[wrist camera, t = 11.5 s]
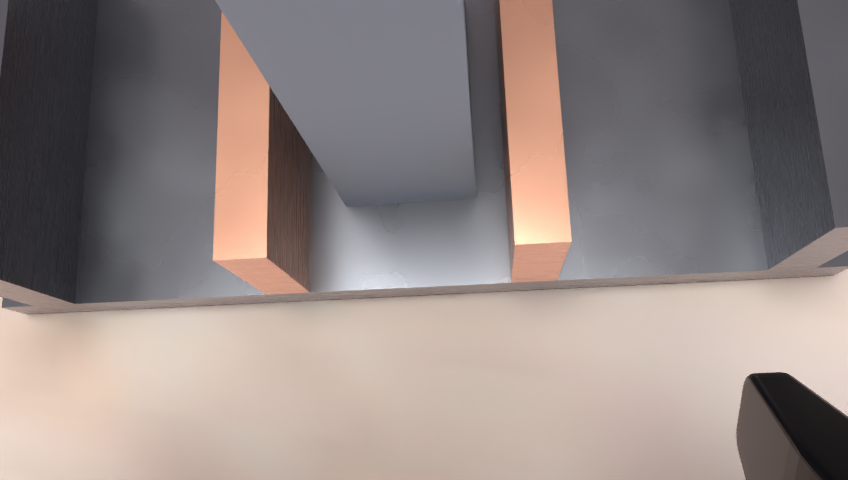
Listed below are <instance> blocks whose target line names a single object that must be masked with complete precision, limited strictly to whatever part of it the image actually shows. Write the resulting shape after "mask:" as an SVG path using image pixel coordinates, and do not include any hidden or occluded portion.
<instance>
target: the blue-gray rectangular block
mask: <svg viewBox="0 0 848 480" xmlns="http://www.w3.org/2000/svg"><path fill="white" fill-rule="evenodd" d="M215 1H216V3H217V4H218V6H219V7H220V9H221V10H222V12H223V14H224V15H225V17H226V18H227V20H228V21H229V23H230V25H231V26H232V28H233V29H234V31H235V32H236V34H237V36H238V37H239V39H240V40H241V42H242V43H243V45H244V47H245V48H246V50H247V51H248V53H249V54H250V56H251V58H252V59H253V61H254V62H255V64H256V65H257V67H258V69H259V70H260V72H261V73H262V75H263V76H264V78H265V80H266V81H267V83H268V84H269V86H270V87H271V89H272V91H273V92H274V94H275V95H276V97H277V98H278V100H279V102H280V103H281V105H282V106H283V108H284V109H285V111H286V113H287V114H288V116H289V117H290V119H291V120H292V122H293V124H294V125H295V127H296V128H297V130H298V131H299V133H300V135H301V136H302V138H303V139H304V141H305V142H306V144H307V146H308V147H309V149H310V150H311V152H312V154H313V155H314V157H315V158H316V160H317V161H318V163H319V165H320V166H321V168H322V169H323V171H324V172H325V174H326V176H327V177H328V179H329V180H330V182H331V183H332V185H333V187H334V188H335V190H336V191H337V193H338V194H339V196H340V198H341V199H342V201H343V202H344V204H345V205H346V207H347V206H362V205H378V204H393V203H408V202H423V201H438V200H454V199H469V198H477V195H476V179H475V162H474V146H473V129H472V113H471V97H470V80H469V64H468V48H467V31H466V15H465V0H215Z"/></svg>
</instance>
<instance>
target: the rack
mask: <svg viewBox="0 0 848 480" xmlns="http://www.w3.org/2000/svg"><path fill="white" fill-rule="evenodd" d="M465 15H466V31H467V48H468V64H469V80H470V97H471V113H472V129H473V146H474V162H475V179H476V195H477V198H469V199H454V200H438V201H423V202H408V203H393V204H378V205H362V206H347V207H346V205H345V204H344V202H343V201H342V199H341V198H340V196H339V194H338V193H337V191H336V190H335V188H334V187H333V185H332V183H331V182H330V180H329V179H328V177H327V176H326V174H325V172H324V171H323V169H322V168H321V166H320V165H319V163H318V161H317V160H316V158H315V157H314V155H313V154H312V152H311V150H310V149H309V147H308V146H307V144H306V142H305V141H304V139H303V138H302V136H301V135H300V133H299V131H298V130H297V128H296V127H295V125H294V124H293V122H292V120H291V119H290V117H289V116H288V114H287V113H286V111H285V109H284V108H283V106H282V105H281V103H280V102H279V100H278V98H277V97H276V95H275V94H274V92H273V91H272V89H271V87H270V86H269V84H268V83H267V81H266V80H265V78H264V76H263V75H262V73H261V72H260V70H259V69H258V67H257V65H256V64H255V62H254V61H253V59H252V58H251V56H250V54H249V53H248V51H247V50H246V48H245V47H244V45H243V43H242V42H241V40H240V39H239V37H238V36H237V34H236V32H235V31H234V29H233V28H232V26H231V25H230V23H229V21H228V20H227V18H226V17H225V15H224V14H223V12H222V10H221V9H220V7H219V6H218V4H217V3H216V1H215V0H0V297H3V302H2V308H5V309H9V310H13V311H17V312H20V313H24V314H42V313H62V312H83V311H104V310H125V309H146V308H167V307H187V306H208V305H229V304H250V303H271V302H292V301H313V300H333V299H354V298H375V297H396V296H417V295H438V294H458V293H479V292H500V291H521V290H542V289H563V288H583V287H604V286H625V285H646V284H667V283H688V282H709V281H729V280H750V279H771V278H792V277H813V276H833V275H835V274H837V273H839V272H841V271H843V270H845V269H847V268H848V0H465Z"/></svg>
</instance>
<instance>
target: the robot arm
mask: <svg viewBox="0 0 848 480" xmlns="http://www.w3.org/2000/svg"><path fill="white" fill-rule="evenodd" d="M737 446H738V451H739V455H740V459H741V463H742V467H743V470H744V474H745V478H746V480H848V416H847V415H845V414H844V413H842V412H841V411H840V410H838V409H837V408H835V407H834V406H833V405H831V404H830V403H829V402H827V401H826V400H824V399H823V398H822V397H820V396H819V395H817V394H816V393H815V392H813V391H812V390H811V389H809V388H808V387H806V386H805V385H804V384H802V383H801V382H799V381H798V380H797V379H795V378H794V377H792V376H791V375H789V374H787V373H781V372H776V373H754V374H751V375H749V376H748V377H747V378H746V380H745V382H744V385H743V391H742V398H741V404H740V410H739V417H738V423H737Z"/></svg>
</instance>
